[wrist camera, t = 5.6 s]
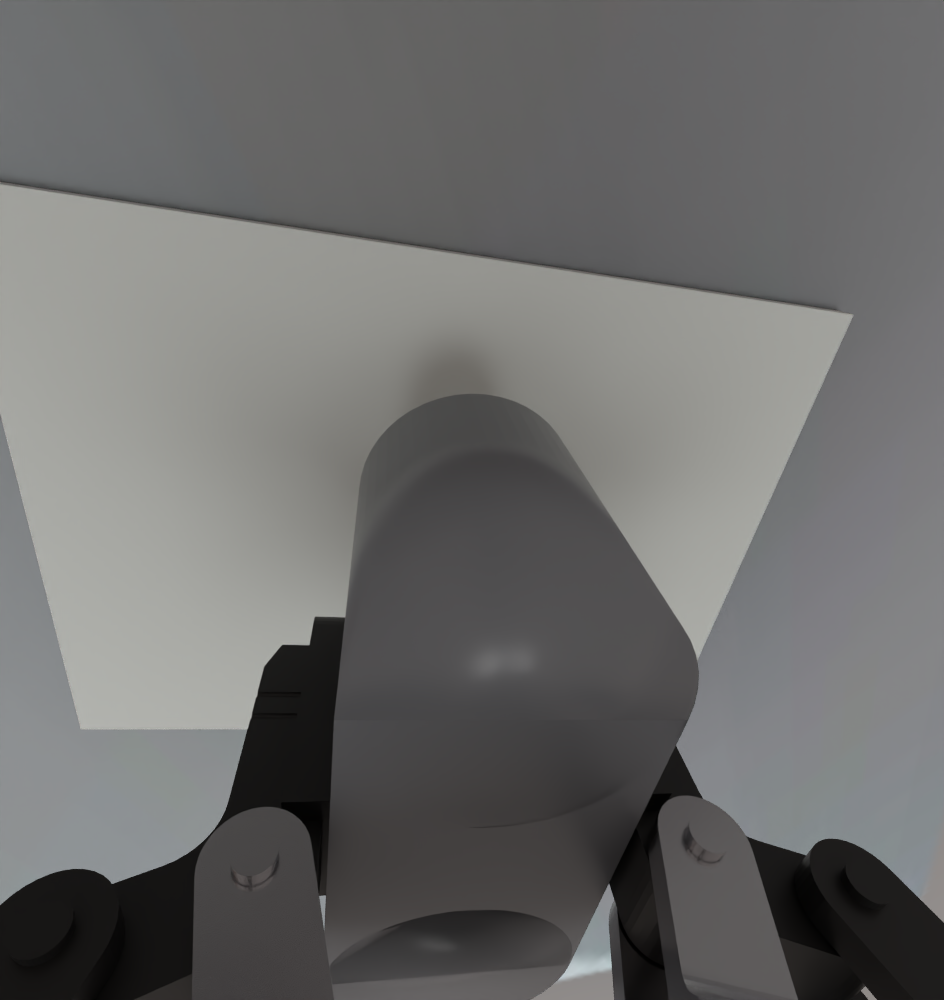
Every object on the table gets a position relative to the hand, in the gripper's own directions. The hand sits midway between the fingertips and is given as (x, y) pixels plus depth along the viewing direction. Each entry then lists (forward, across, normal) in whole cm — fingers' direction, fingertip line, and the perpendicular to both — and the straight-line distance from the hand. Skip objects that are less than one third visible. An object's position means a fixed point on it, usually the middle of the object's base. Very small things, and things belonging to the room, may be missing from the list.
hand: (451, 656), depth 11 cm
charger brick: (+1, 0, +1) cm, 1 cm away
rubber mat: (+7, 0, +1) cm, 7 cm away
